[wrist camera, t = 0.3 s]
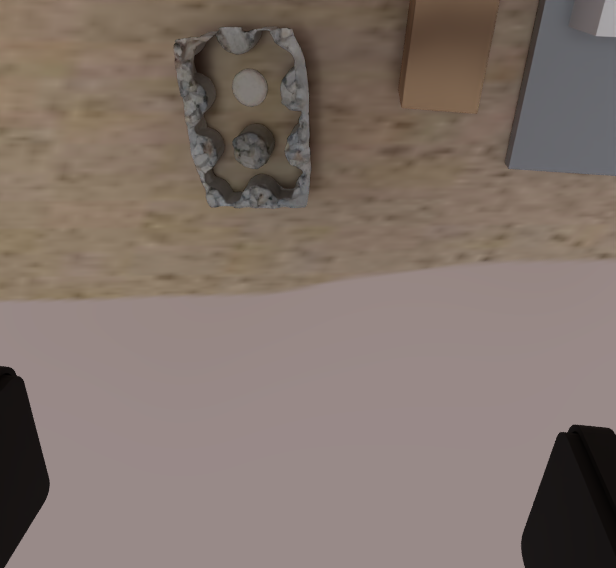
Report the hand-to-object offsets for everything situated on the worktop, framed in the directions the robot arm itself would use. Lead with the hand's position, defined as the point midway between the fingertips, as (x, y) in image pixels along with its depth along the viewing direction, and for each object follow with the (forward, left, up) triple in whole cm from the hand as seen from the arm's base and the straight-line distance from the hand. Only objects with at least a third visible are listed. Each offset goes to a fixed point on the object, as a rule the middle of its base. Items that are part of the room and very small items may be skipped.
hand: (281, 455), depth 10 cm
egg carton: (+1, -6, -30) cm, 30 cm away
